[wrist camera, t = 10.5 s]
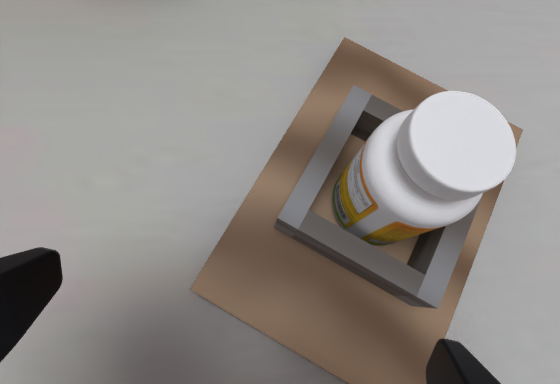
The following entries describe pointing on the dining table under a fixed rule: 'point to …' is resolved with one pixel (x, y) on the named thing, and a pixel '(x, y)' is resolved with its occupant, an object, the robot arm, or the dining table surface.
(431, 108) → the supplement bottle
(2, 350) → the robot arm
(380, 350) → the collar board
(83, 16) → the dining table surface
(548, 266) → the dining table surface
